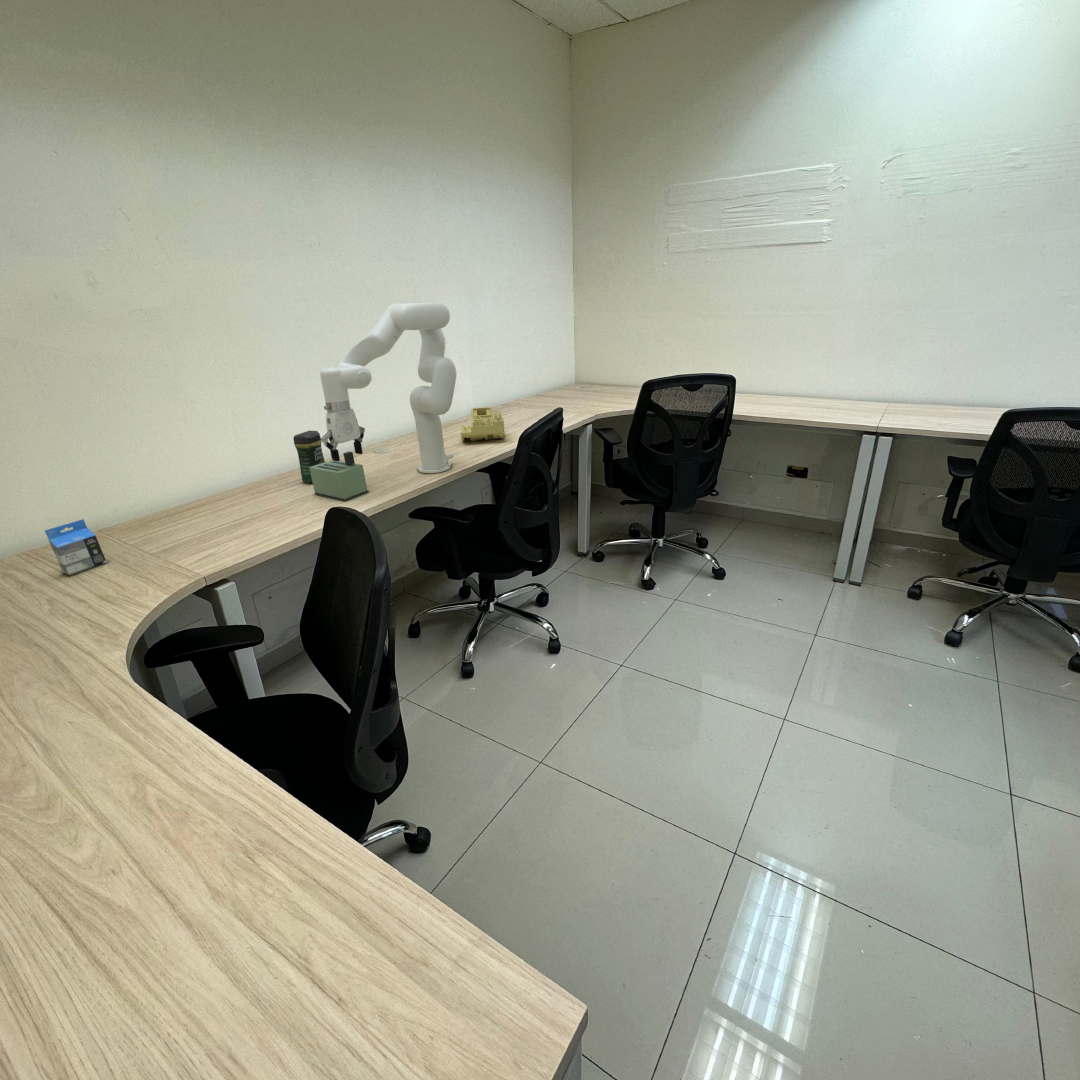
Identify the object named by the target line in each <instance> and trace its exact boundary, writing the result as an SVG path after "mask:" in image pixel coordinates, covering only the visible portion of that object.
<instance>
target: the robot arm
mask: <svg viewBox="0 0 1080 1080" xmlns="http://www.w3.org/2000/svg"><path fill="white" fill-rule="evenodd" d="M450 319H451V314H450V310H449V309H448V307H447V305H446V304H444V303H443V302H439V301H438V302H437V301H435V302H434V301H433V302H431V301H430V302H397V303H392V304H390V305H389V306H388V307H387V308H386V309H385V310H384V312H383V313H382V314H381V316H380V317H379V319H378V320H377V321H376V323H375V324H374V325H373V326H372V328H371V330H370V331H369V332H368V333H367V334H366V335H365V336H364V337H363V338H362V339H360V340H359V341H358V342H357V343H356V344H354V346H352V347H351V348H350V349H349V350H348V351H347V352H346V353H345V355H343V357H342V359H340V362H339V363H338V365H337V366H334V367H325V368H321V370H320V372H319V377H320V382H321V387H322V391H323V397H324V401H325V402H324V403H325V405H324V406H323V410H324V411H326V413H325V424H326V433H325V434H324V435H323V436H321V443H322V444H323V446H324V447H326V448H327V449H328V450H329V451H330V452H329V453H330V457H331V460H333V461H341V458H340V453H339V450H338V449H337V448H338V445H339V444H343V443H346V442H347V443H348V442H350V441H353V447H354V448H353V449H354V453H355V454H358V455H363V446H362V443H363V439H364V437H365V432H366V431H365V430H366V428H365V427H363V426H360V425H359V421H358V418H357V416H356V413H355V410H354V408H351V401H350V395H349V391H348V390H351V389H352V390H361V389H365V388H367V387H368V386H369V385H370V384H371V382H372V377H373V376H372V373H371V371H370V370H369V369H368V368H367V367H366V366H367V365H368V364H369V363H371V362H372V361H374V360H377V359H378V358H381V357H383V356H386V354H388V353H390V351H392V349H393V347H394V346H395V344H396V343H397V342H398V340H399V339H400V337H401V336H402V335H403V333H404V332H405V331H418V332H419V334H420V337H421V346H420V353H419V359H418V364H417V365H418V366H417V375H418V378H419V379H420V380H421V381H423V382H425V383H429V384H431V386H429V385H419V386H416V387H414V388H413V389H412V391H410V395H409V404H410V405H409V406H410V408H411V411H412V414H413V418H414V422H415V429H416V435H417V442H418V443H417V444H418V450H419V456H420V463H421V464H420V465H418V466H417V471H418V472H420V473H423V474H438V473H443V472H446V471H448V470H450V469H451V467H452V466H451V463H449V460H453V458H454V453H449V454H446V451H445V443H444V442H445V441H444V435H443V426H442V420H441V417H440V416H442V415H445V414H447V413H448V412H449V410H450V409H451V407H452V403H453V399H454V393H455V387H456V382H457V368H456V364H455V363H454V362H453V361H452V360H451V359H450V358H448V357H446V356H445V352H446V337H445V333H444V332H443V330H442V329H443V328H445V327H446V326H447V325H448V324H449V322H450Z"/></svg>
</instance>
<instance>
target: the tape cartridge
mask: <svg viewBox="0 0 1080 1080" xmlns="http://www.w3.org/2000/svg"><path fill="white" fill-rule="evenodd" d="M70 528H72V529H70ZM65 529H69V530H65ZM64 530H65V531H64ZM61 531H62V532H61ZM44 533H45V535H46V537H47V539H48V543H49V545H50V547H51V549H52V551H53V553H54V555H55V559H56V561H57V563H58V564H59V565H58V566H59V567H60V569H61V571H62V573H63V574H64V575H67V576H72V575H75V574H78V573H80V572H84V571H87V570H90V569H92V568H95V567H97V566H100V565H103V564H107V560H106V557H105V554H104V552H103V550H102V548H101V545H100V543H99V540H98V537H97V535H96V534H95V533H94V532H92V530H91V529H90V528H89V527H88V526H87V524H86V522H85V519H83V518H82V519H78V520H76V521H72V522H69V523H65V524H62V525H59V526H56V527H51V528H49V529H45V530H44Z"/></svg>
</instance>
